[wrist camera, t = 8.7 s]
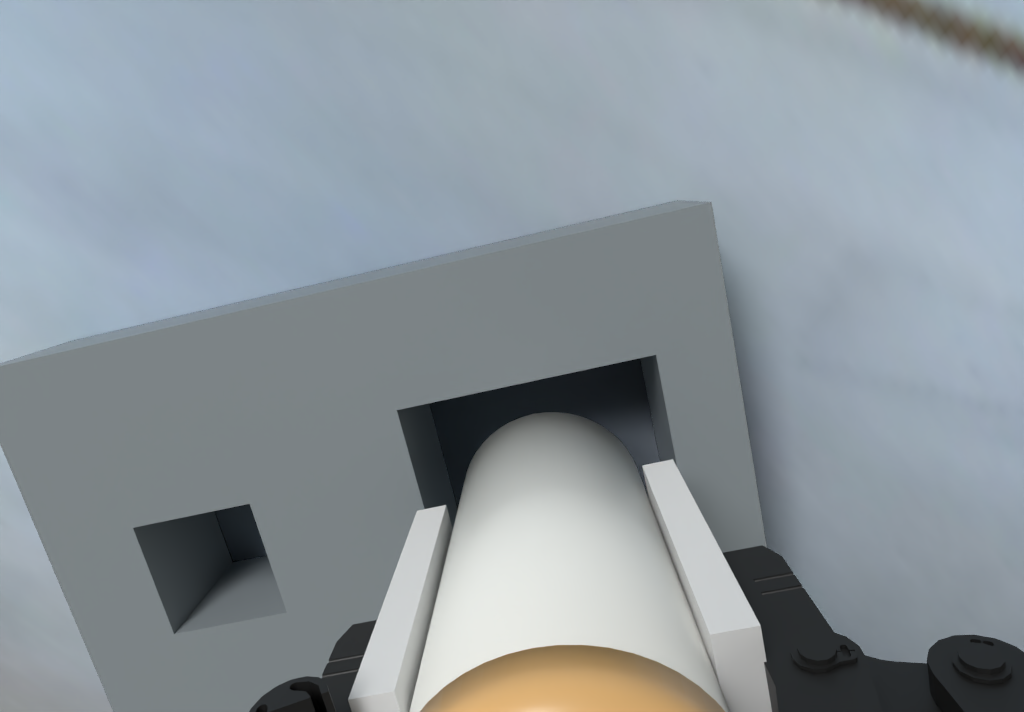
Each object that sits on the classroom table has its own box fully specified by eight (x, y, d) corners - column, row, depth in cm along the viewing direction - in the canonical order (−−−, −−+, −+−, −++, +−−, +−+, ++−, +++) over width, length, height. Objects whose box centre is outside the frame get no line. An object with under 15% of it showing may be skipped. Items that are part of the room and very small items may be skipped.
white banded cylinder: (624, 393, 18) (786, 740, 7) (658, 560, 19) (848, 1110, 8) (441, 431, 19) (291, 823, 7) (485, 592, 20) (417, 1163, 8)
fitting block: (677, 200, 21) (714, 202, 16) (746, 602, 24) (792, 690, 19) (68, 341, 22) (-39, 376, 18) (207, 701, 25) (142, 801, 21)
